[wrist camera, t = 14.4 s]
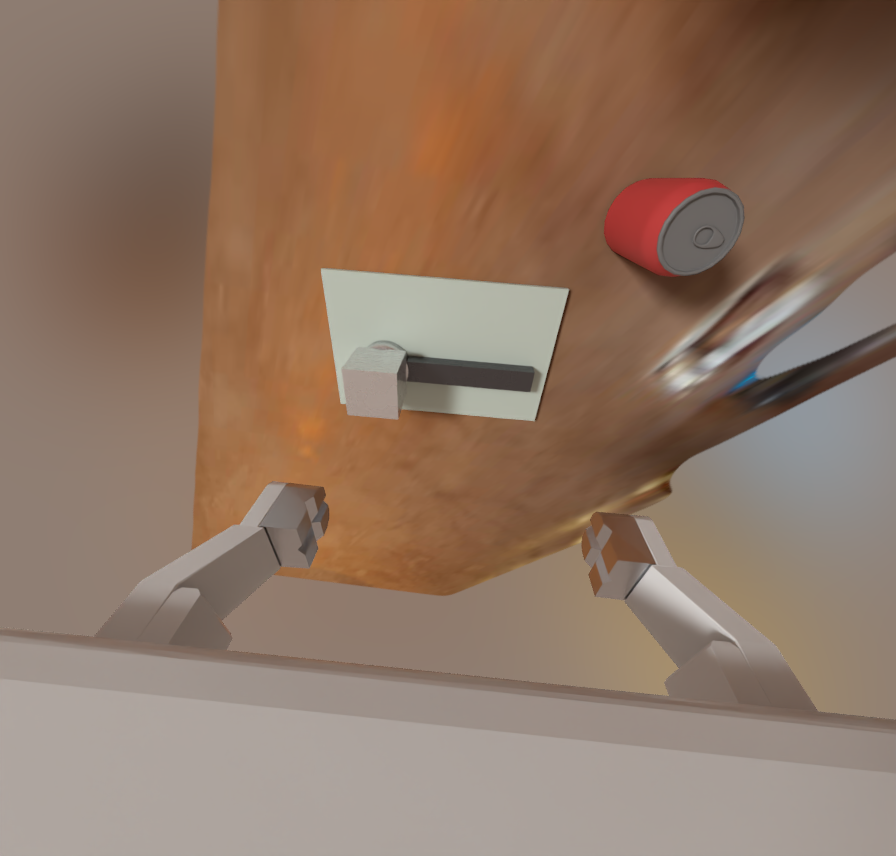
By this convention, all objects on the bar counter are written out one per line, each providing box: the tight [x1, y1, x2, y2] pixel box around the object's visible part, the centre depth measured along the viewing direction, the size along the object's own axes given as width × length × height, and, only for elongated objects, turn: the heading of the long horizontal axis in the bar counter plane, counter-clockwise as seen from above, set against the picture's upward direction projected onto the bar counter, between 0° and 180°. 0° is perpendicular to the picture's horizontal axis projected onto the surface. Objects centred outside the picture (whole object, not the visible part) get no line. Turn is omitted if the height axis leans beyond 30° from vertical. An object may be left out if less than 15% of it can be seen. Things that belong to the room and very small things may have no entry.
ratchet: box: [368, 340, 535, 392], centre depth 42 cm, size 6×22×5 cm, turn 87°
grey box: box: [341, 347, 407, 419], centre depth 40 cm, size 6×6×6 cm
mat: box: [321, 268, 569, 421], centre depth 44 cm, size 18×28×1 cm, turn 86°
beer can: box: [604, 178, 744, 277], centre depth 29 cm, size 7×7×12 cm
